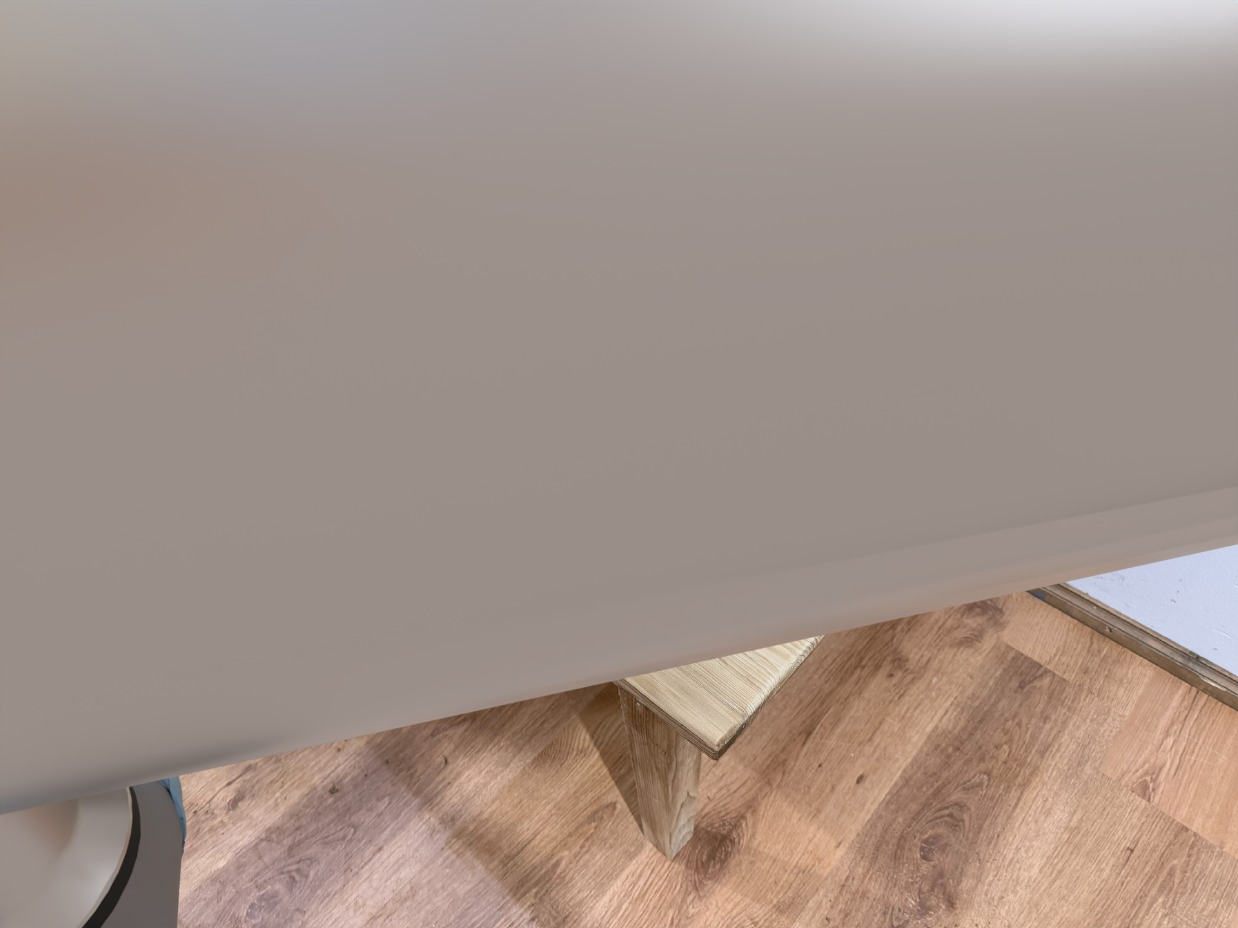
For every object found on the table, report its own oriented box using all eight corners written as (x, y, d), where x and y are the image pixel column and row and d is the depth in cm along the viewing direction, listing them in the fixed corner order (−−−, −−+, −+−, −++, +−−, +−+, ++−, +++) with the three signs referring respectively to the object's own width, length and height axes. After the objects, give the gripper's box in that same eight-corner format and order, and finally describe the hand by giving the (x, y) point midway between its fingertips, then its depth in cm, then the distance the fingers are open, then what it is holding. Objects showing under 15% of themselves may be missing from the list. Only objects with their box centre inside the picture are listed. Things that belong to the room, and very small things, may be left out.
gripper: (931, 421, 42) (552, 481, 50) (824, -136, 25) (274, 88, 33) (948, 547, 37) (526, 590, 45) (830, -35, 20) (186, 198, 28)
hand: (419, 379), depth 39 cm, fingers open, 13 cm apart
